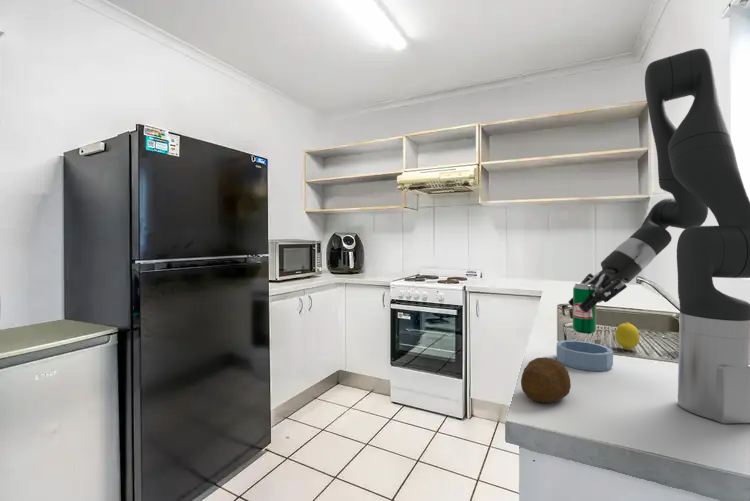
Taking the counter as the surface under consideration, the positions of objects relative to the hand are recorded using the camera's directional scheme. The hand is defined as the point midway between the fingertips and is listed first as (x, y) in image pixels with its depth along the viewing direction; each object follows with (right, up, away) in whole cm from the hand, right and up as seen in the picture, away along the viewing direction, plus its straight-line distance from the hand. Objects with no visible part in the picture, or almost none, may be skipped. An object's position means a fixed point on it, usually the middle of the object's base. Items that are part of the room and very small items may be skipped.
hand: (576, 307), depth 88 cm
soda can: (+2, -6, 0) cm, 7 cm away
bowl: (+2, -14, 0) cm, 14 cm away
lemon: (+21, -14, +11) cm, 28 cm away
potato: (-18, -14, -21) cm, 31 cm away
